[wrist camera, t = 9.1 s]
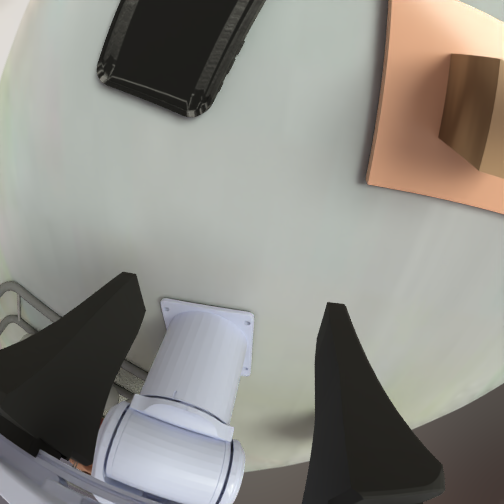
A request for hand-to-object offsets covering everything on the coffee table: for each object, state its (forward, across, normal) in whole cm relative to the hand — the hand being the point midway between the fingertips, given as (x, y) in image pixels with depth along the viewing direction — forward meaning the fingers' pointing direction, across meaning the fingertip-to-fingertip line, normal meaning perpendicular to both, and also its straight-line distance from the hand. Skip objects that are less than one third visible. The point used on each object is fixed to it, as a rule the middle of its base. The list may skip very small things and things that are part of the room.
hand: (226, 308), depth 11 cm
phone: (+10, +4, -13) cm, 17 cm away
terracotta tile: (+9, -12, -8) cm, 17 cm away
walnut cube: (+9, -12, -8) cm, 17 cm away
